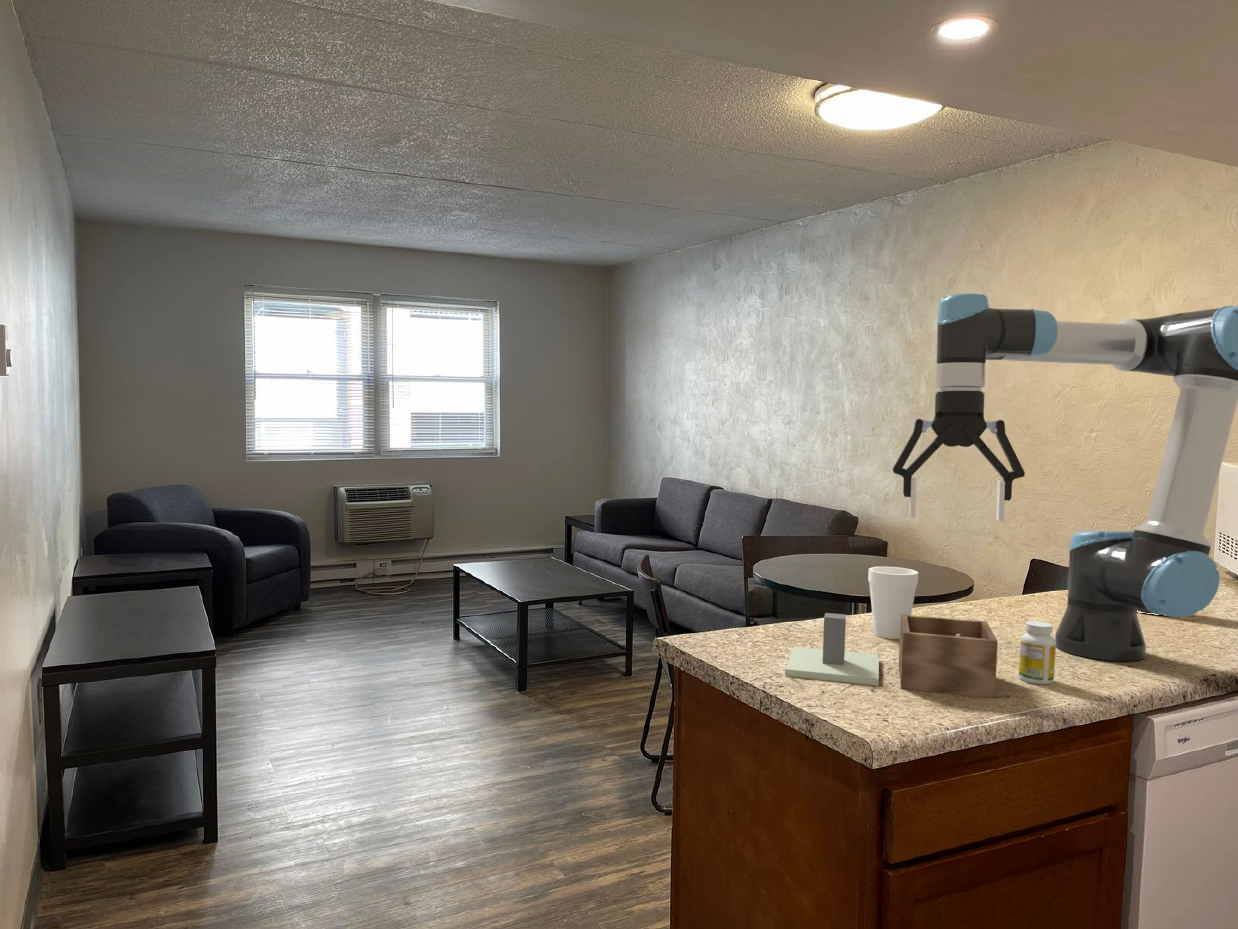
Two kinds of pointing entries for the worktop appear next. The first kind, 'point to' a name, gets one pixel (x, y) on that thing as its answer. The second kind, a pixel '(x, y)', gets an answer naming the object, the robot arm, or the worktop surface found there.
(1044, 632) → the supplement bottle
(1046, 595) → the worktop surface
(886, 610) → the foam cup
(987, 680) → the box
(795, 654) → the lid
